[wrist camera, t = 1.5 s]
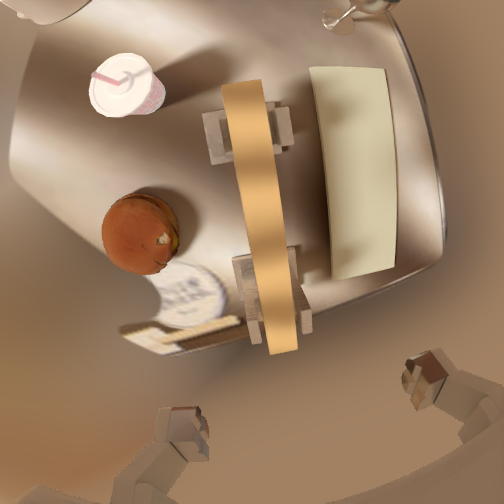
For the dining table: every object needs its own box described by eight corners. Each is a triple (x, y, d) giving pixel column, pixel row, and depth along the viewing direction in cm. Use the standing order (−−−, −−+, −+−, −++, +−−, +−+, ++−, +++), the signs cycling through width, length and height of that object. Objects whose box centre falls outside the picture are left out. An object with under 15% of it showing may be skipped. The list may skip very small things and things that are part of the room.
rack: (202, 114, 28) (189, 103, 18) (272, 102, 28) (296, 87, 18) (240, 296, 38) (246, 355, 28) (297, 285, 38) (321, 340, 28)
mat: (308, 68, 27) (310, 66, 26) (380, 69, 27) (384, 69, 26) (331, 278, 38) (333, 281, 38) (391, 264, 38) (394, 267, 38)
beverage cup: (172, 68, 26) (135, 28, 13) (172, 117, 28) (133, 106, 15) (122, 76, 25) (62, 50, 12) (123, 124, 28) (60, 123, 15)
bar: (221, 91, 21) (221, 85, 18) (256, 85, 21) (261, 79, 18) (266, 337, 31) (270, 354, 29) (292, 331, 31) (297, 349, 29)
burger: (98, 211, 32) (82, 223, 27) (157, 178, 31) (147, 185, 27) (133, 274, 36) (124, 292, 31) (193, 248, 35) (188, 265, 31)
